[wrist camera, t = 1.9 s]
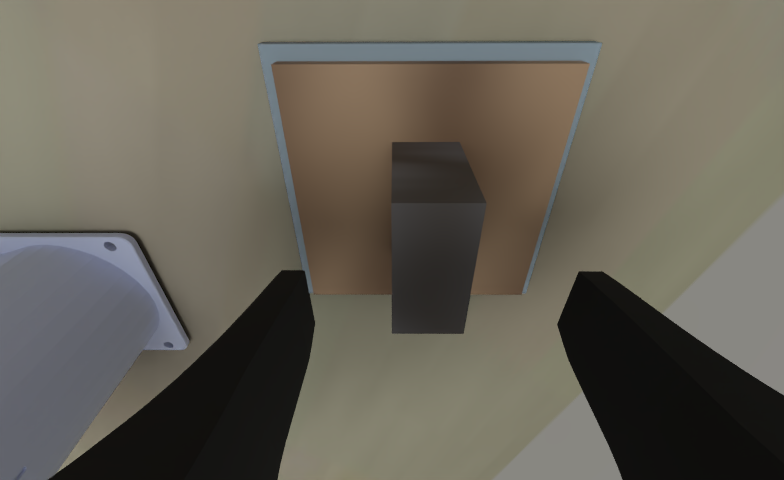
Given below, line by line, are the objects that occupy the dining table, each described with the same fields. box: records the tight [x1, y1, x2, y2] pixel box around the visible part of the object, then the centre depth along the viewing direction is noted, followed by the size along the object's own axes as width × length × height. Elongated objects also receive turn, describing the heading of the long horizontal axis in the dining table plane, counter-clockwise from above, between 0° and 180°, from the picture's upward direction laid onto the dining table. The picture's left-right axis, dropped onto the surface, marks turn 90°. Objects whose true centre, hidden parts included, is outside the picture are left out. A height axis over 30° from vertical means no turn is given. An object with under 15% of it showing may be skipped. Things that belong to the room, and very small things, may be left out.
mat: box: [258, 41, 602, 293], centre depth 14 cm, size 11×11×1 cm
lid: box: [271, 61, 590, 334], centre depth 12 cm, size 10×10×5 cm
